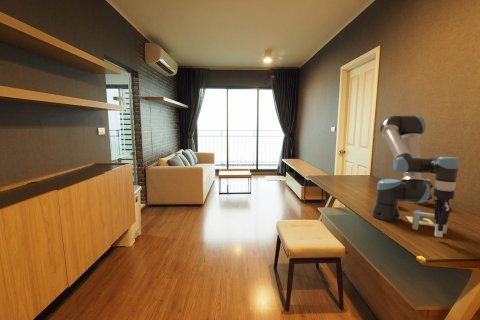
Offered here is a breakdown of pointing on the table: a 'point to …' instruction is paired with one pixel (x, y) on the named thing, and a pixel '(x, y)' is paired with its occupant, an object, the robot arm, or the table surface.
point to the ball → (420, 216)
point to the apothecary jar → (430, 194)
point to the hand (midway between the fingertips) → (438, 236)
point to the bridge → (417, 214)
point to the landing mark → (422, 221)
